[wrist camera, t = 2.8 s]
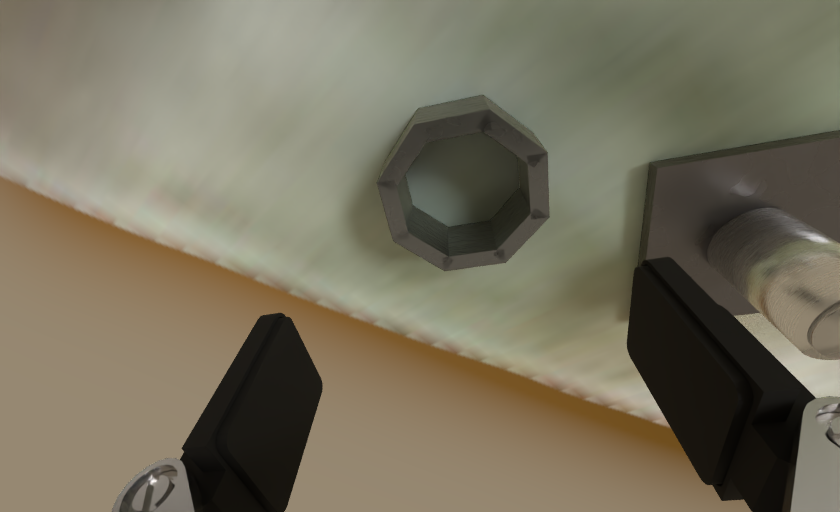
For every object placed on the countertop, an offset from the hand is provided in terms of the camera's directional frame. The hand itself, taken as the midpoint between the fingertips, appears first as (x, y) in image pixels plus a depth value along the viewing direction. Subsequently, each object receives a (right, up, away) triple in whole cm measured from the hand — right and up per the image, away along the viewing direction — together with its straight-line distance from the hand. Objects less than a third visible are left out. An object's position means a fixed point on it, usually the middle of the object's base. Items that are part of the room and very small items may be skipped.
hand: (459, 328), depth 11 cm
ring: (+1, +6, +9) cm, 11 cm away
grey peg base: (+16, +3, +10) cm, 19 cm away
